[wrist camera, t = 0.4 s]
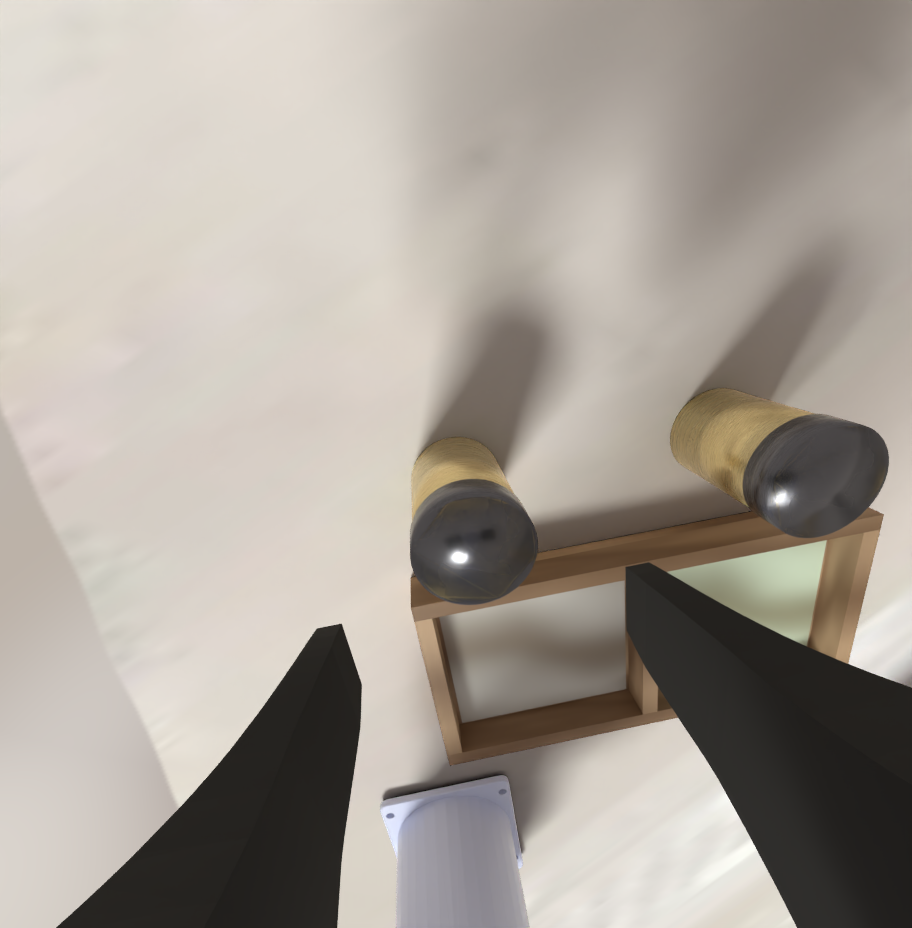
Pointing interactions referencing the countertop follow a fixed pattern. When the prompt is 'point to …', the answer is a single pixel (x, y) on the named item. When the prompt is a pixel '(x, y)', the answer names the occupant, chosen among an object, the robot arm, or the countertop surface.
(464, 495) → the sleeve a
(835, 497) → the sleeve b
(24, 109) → the countertop surface
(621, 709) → the holder
